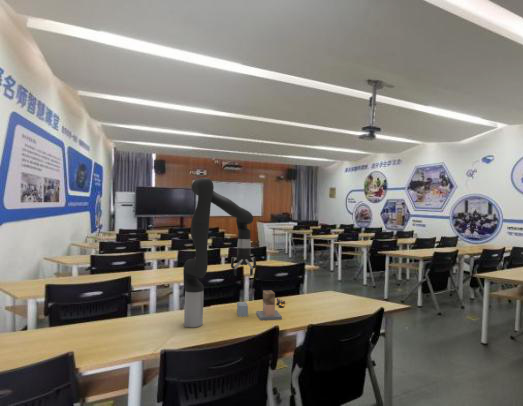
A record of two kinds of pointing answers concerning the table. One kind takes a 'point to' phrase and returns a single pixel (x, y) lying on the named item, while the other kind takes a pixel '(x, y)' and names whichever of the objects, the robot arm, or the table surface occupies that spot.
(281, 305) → the toy set
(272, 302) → the brick walnut
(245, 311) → the brick slate
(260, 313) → the baseplate
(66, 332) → the table surface
